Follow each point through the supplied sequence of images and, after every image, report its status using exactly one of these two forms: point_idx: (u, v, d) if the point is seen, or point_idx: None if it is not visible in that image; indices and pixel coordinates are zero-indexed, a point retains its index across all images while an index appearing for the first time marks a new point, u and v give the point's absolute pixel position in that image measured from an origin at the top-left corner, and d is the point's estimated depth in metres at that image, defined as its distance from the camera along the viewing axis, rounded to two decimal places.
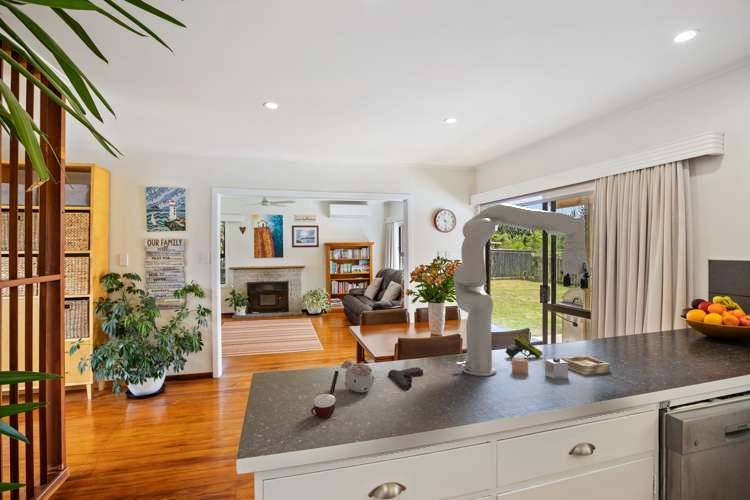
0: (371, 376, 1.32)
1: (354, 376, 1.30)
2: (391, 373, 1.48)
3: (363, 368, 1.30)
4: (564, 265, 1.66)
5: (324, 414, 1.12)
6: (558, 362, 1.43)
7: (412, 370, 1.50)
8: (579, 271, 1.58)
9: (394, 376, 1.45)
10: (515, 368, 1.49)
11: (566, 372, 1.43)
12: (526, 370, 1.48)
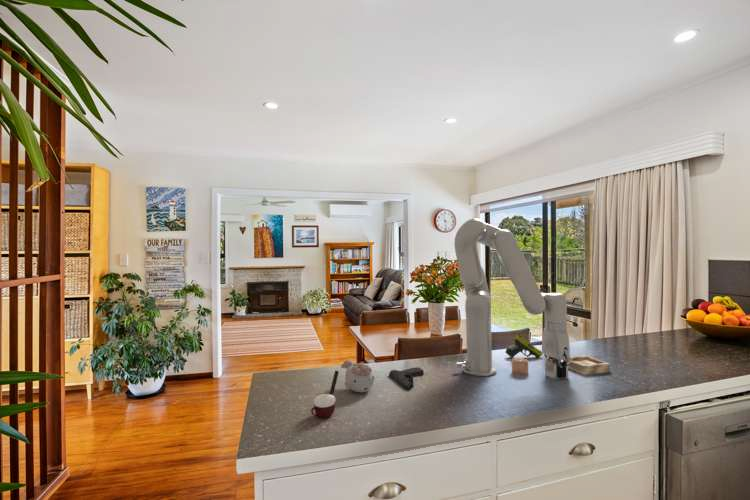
0: (371, 376, 1.32)
1: (354, 376, 1.30)
2: (392, 373, 1.48)
3: (363, 368, 1.30)
4: (544, 346, 1.47)
5: (324, 414, 1.12)
6: None
7: (413, 370, 1.50)
8: (560, 357, 1.40)
9: (395, 376, 1.44)
10: (515, 368, 1.49)
11: (566, 372, 1.43)
12: (526, 370, 1.48)
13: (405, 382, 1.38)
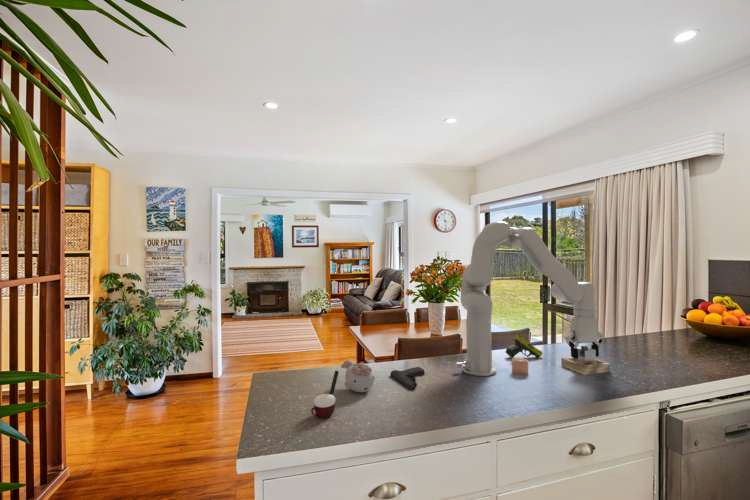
0: (371, 376, 1.32)
1: (354, 376, 1.30)
2: (393, 373, 1.48)
3: (363, 368, 1.30)
4: None
5: (324, 414, 1.12)
6: (579, 348, 1.54)
7: (414, 370, 1.50)
8: None
9: (397, 376, 1.44)
10: (515, 368, 1.49)
11: (583, 360, 1.51)
12: (526, 370, 1.48)
13: (408, 382, 1.37)
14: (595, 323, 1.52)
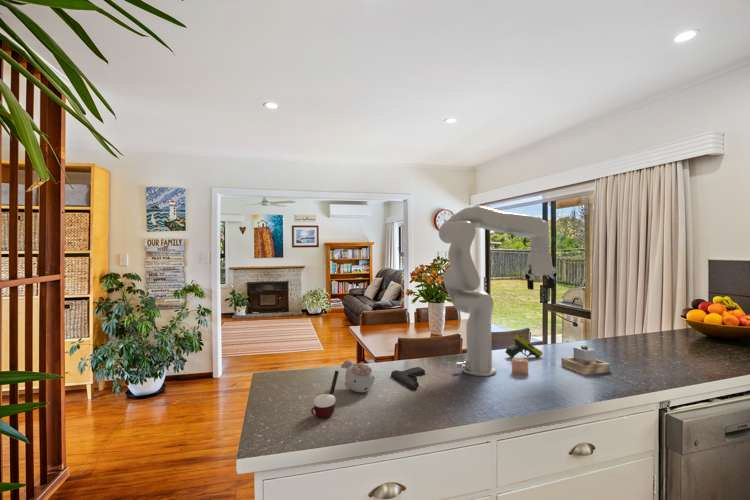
0: (371, 376, 1.32)
1: (354, 376, 1.30)
2: (394, 373, 1.47)
3: (363, 368, 1.30)
4: None
5: (324, 414, 1.12)
6: (579, 348, 1.54)
7: (414, 370, 1.50)
8: (527, 272, 1.70)
9: (399, 377, 1.44)
10: (515, 368, 1.49)
11: (583, 360, 1.51)
12: (526, 370, 1.48)
13: (410, 382, 1.37)
14: (549, 257, 1.67)
